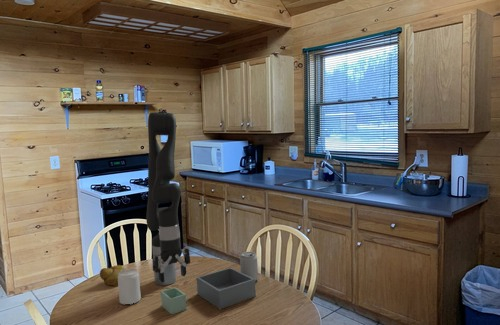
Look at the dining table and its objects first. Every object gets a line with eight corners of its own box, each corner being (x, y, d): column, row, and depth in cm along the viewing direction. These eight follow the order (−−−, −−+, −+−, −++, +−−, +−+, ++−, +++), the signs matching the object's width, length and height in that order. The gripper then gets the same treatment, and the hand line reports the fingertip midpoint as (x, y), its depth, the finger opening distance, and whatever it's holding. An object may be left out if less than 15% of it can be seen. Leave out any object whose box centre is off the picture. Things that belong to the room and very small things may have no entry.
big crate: (197, 293, 162) (196, 277, 162) (231, 282, 172) (230, 267, 171) (220, 309, 148) (219, 291, 147) (255, 296, 158) (254, 279, 157)
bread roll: (115, 275, 187) (113, 259, 186) (133, 276, 185) (132, 260, 184) (98, 287, 174) (97, 269, 174) (118, 288, 172) (116, 270, 171)
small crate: (161, 306, 153) (160, 291, 152) (176, 301, 157) (175, 287, 156) (171, 314, 146) (170, 299, 145) (186, 309, 149) (185, 294, 149)
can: (256, 284, 170) (255, 256, 169) (239, 283, 171) (238, 256, 170) (259, 277, 177) (258, 251, 176) (243, 276, 179) (242, 250, 177)
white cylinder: (144, 297, 161) (142, 269, 160) (132, 306, 153) (130, 276, 152) (128, 295, 164) (125, 267, 162) (115, 304, 156) (112, 275, 155)
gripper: (182, 231, 156) (185, 271, 157) (147, 238, 147) (151, 281, 149) (191, 234, 150) (194, 276, 151) (155, 242, 141) (159, 286, 143)
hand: (173, 278), depth 150 cm, fingers open, 8 cm apart
